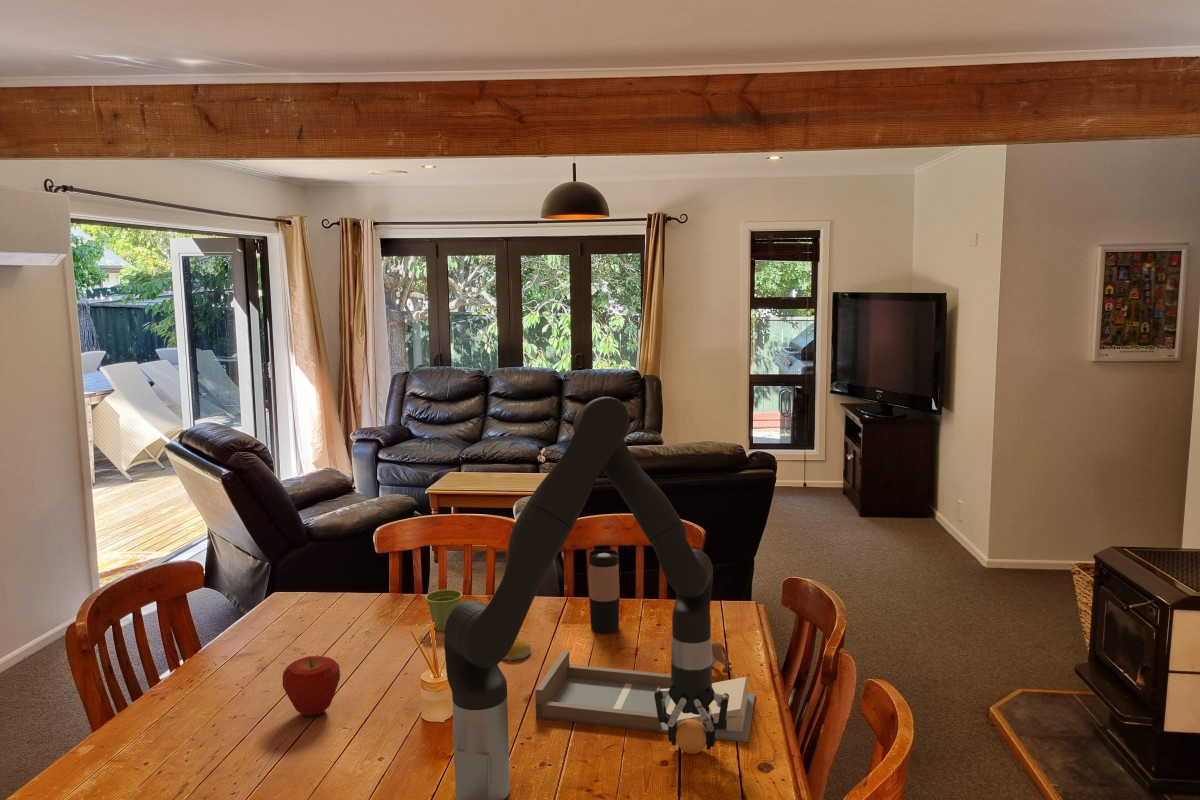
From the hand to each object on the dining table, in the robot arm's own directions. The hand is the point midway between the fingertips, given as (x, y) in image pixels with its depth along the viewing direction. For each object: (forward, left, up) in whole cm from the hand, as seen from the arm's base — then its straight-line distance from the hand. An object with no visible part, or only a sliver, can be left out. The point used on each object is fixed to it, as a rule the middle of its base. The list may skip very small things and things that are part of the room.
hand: (691, 745), depth 153 cm
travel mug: (+53, +30, -1) cm, 61 cm away
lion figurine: (+33, +3, -1) cm, 34 cm away
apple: (-3, +78, -1) cm, 78 cm away
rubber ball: (0, 0, +2) cm, 2 cm away
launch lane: (+15, +11, -2) cm, 19 cm away
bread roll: (+34, +48, -2) cm, 59 cm away
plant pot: (+45, +71, -1) cm, 84 cm away
